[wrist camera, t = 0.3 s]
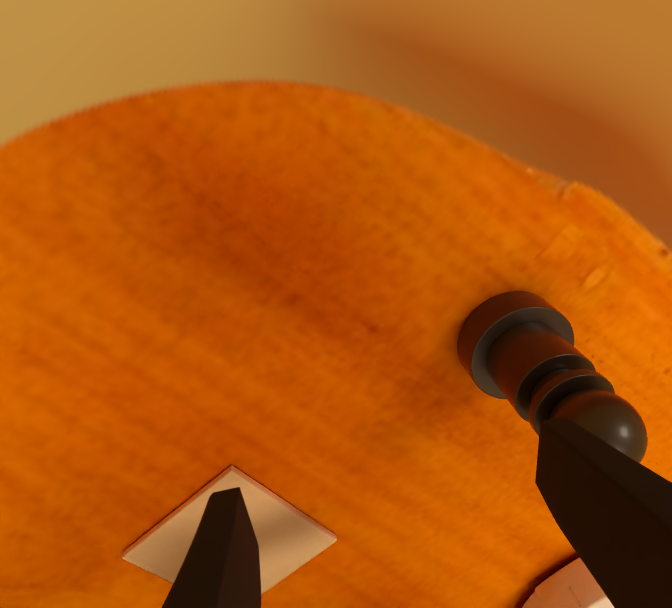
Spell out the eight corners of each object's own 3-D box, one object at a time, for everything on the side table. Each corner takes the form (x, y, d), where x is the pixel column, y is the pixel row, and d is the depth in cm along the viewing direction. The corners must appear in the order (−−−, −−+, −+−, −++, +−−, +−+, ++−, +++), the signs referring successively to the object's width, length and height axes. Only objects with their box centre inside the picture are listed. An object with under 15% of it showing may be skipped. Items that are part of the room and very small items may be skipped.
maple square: (336, 534, 26) (337, 540, 26) (234, 607, 28) (234, 614, 28) (231, 464, 23) (231, 470, 23) (122, 551, 25) (120, 558, 24)
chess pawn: (549, 369, 23) (678, 501, 16) (456, 387, 23) (547, 530, 16) (559, 282, 21) (713, 390, 14) (457, 300, 21) (562, 421, 14)
